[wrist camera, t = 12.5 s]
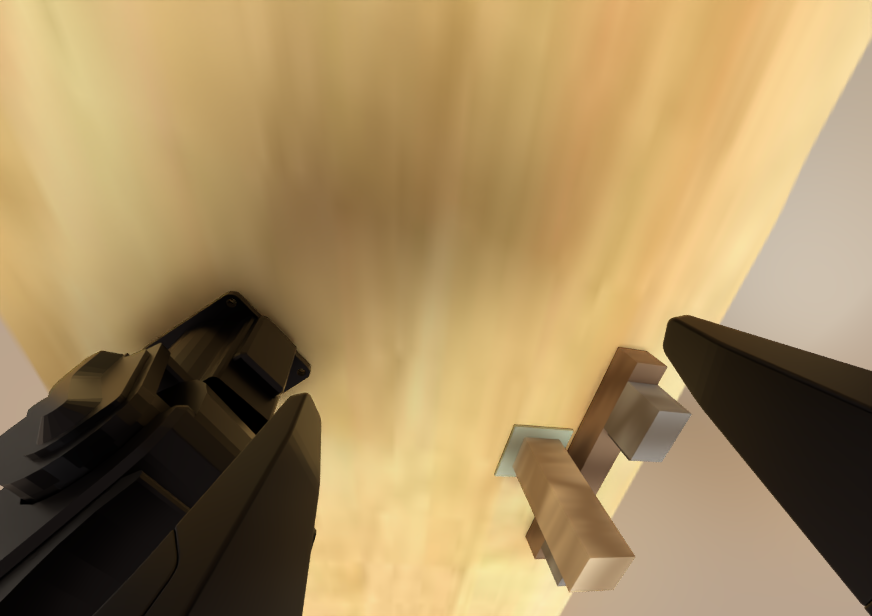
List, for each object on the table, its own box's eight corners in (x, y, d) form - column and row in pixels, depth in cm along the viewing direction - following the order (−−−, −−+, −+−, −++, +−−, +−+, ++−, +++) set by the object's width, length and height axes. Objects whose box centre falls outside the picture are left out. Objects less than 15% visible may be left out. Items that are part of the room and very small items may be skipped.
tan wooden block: (512, 466, 29) (569, 592, 21) (524, 437, 28) (589, 558, 20) (549, 468, 30) (617, 589, 22) (562, 439, 29) (639, 556, 21)
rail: (549, 536, 34) (577, 596, 30) (468, 537, 32) (485, 602, 28) (647, 351, 27) (704, 394, 22) (550, 337, 25) (591, 381, 20)
